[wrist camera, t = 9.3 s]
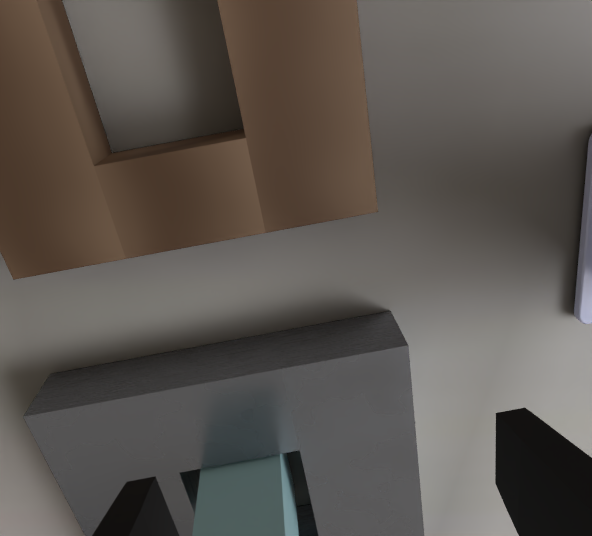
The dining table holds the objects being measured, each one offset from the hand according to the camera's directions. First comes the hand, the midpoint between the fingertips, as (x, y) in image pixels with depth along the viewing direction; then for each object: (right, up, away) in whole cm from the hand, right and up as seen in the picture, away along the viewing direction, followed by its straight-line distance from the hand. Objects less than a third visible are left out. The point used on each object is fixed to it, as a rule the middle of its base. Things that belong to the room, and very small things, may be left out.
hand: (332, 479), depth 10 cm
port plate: (-3, -5, +12) cm, 13 cm away
